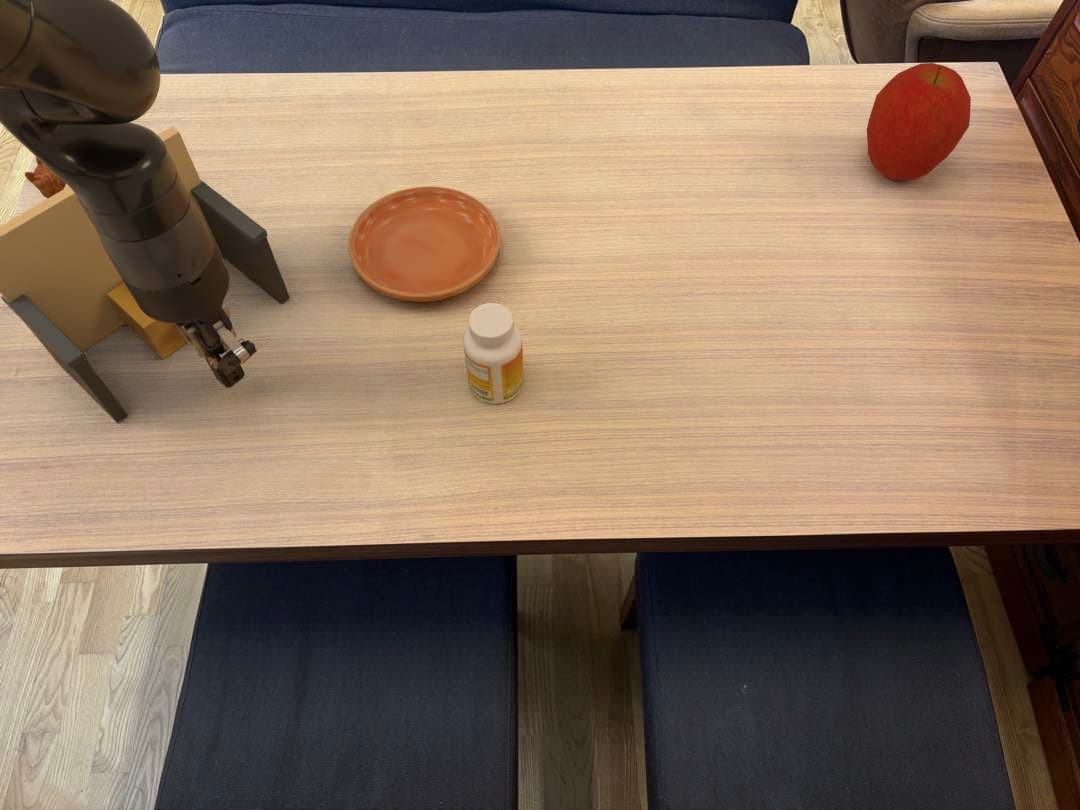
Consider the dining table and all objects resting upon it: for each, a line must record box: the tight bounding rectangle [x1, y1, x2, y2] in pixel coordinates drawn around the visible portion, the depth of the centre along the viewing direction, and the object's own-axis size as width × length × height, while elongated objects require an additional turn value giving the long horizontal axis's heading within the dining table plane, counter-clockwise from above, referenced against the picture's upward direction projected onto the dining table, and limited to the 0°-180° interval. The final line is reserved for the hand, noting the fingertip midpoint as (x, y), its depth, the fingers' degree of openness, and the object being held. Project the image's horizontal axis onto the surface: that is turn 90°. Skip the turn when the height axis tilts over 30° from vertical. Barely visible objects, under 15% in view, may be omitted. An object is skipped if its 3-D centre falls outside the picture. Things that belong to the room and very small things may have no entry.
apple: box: [866, 62, 972, 182], centre depth 93 cm, size 10×10×14 cm
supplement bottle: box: [462, 302, 525, 405], centre depth 79 cm, size 5×5×10 cm
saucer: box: [347, 185, 501, 303], centre depth 91 cm, size 16×16×3 cm
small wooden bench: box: [0, 126, 291, 424], centre depth 80 cm, size 11×21×16 cm, turn 138°
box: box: [107, 282, 188, 360], centre depth 85 cm, size 6×6×5 cm
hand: (232, 378), depth 81 cm, fingers closed
